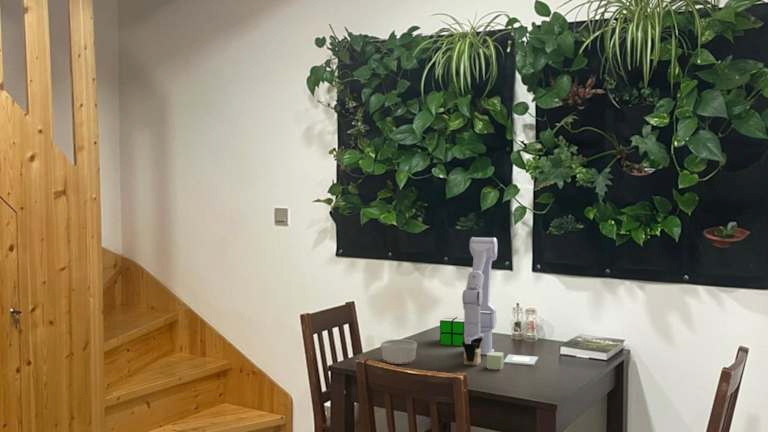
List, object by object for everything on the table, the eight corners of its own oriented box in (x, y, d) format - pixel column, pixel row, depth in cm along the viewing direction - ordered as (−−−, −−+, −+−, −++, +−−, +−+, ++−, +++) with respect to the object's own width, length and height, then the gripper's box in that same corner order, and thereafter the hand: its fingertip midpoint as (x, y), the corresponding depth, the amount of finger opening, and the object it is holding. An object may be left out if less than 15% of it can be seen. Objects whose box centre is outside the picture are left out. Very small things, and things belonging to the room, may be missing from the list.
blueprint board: (503, 363, 268) (503, 361, 267) (508, 356, 278) (508, 354, 278) (533, 365, 264) (533, 363, 264) (538, 358, 274) (538, 356, 274)
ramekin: (392, 355, 280) (392, 337, 280) (423, 359, 273) (423, 341, 273) (374, 363, 269) (374, 344, 268) (406, 368, 262) (406, 348, 262)
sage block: (486, 368, 260) (486, 354, 260) (489, 365, 265) (489, 351, 265) (501, 370, 259) (501, 355, 258) (503, 366, 263) (503, 352, 263)
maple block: (463, 364, 266) (463, 350, 266) (467, 361, 271) (467, 347, 271) (477, 365, 265) (477, 352, 264) (480, 362, 269) (480, 348, 269)
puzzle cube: (469, 341, 303) (469, 317, 302) (464, 346, 293) (464, 321, 293) (445, 339, 306) (445, 315, 306) (439, 345, 297) (439, 320, 296)
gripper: (478, 326, 259) (478, 365, 260) (487, 319, 272) (487, 355, 273) (459, 325, 261) (459, 363, 262) (468, 317, 275) (468, 354, 276)
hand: (472, 359), depth 268 cm, fingers open, 5 cm apart
